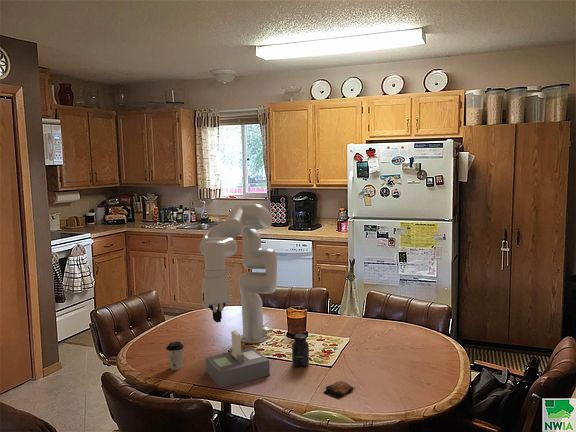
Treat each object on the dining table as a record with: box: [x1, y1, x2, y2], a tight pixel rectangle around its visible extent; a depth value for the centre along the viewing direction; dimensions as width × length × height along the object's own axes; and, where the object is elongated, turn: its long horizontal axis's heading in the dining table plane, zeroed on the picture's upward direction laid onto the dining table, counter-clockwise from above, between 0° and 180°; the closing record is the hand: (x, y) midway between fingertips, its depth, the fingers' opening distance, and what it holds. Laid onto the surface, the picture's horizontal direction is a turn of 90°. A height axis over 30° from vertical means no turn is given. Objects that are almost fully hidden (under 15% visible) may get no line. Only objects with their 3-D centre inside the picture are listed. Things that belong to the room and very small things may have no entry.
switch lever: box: [230, 330, 242, 359], centre depth 189 cm, size 2×5×10 cm, turn 29°
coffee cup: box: [165, 341, 184, 371], centre depth 197 cm, size 7×7×10 cm
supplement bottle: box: [291, 333, 310, 368], centre depth 196 cm, size 7×7×12 cm
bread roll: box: [322, 380, 356, 400], centre depth 173 cm, size 11×8×4 cm
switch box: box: [205, 346, 271, 389], centre depth 189 cm, size 20×16×9 cm
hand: (217, 321), depth 184 cm, fingers closed
